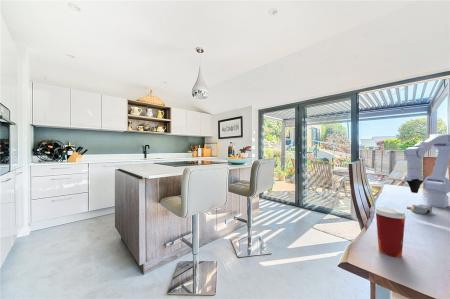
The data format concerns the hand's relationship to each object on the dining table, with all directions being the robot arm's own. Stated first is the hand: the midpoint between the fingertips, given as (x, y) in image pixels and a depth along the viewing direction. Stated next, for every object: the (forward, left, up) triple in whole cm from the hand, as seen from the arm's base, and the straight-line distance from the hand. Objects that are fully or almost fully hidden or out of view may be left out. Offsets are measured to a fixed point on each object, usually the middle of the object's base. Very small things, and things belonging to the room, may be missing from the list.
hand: (414, 192), depth 100 cm
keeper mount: (-4, 0, -10) cm, 11 cm away
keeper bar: (0, 0, -9) cm, 9 cm away
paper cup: (+64, +18, -10) cm, 67 cm away
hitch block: (+6, +5, -10) cm, 13 cm away
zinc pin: (+6, +5, -10) cm, 13 cm away
